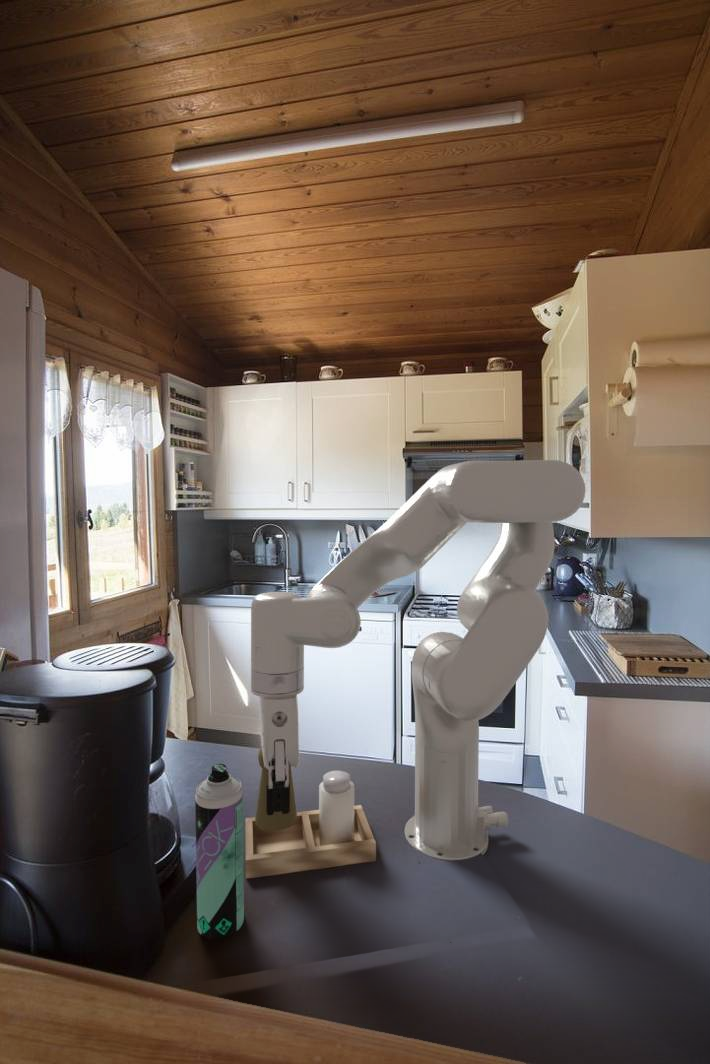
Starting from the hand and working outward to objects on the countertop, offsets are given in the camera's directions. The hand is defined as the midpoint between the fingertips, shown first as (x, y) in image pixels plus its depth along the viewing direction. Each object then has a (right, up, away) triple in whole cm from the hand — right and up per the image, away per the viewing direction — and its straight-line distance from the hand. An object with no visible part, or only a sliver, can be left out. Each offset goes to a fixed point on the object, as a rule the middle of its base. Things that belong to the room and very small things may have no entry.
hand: (277, 802), depth 78 cm
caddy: (+4, -8, +1) cm, 9 cm away
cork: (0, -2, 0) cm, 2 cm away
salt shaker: (+9, -7, +2) cm, 11 cm away
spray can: (-5, -9, -13) cm, 16 cm away
